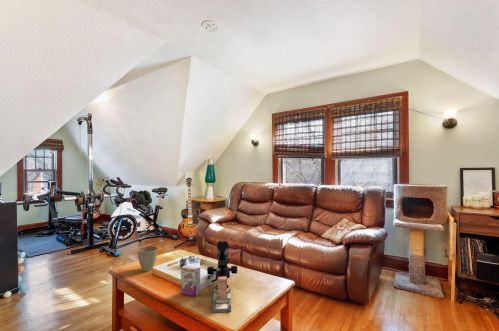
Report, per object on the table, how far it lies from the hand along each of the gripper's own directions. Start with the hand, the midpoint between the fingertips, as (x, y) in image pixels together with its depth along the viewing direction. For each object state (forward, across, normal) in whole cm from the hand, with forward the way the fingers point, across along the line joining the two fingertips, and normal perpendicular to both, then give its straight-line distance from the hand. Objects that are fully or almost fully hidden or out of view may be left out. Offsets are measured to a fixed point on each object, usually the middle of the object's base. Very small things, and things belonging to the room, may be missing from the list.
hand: (222, 284), depth 155 cm
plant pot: (-28, -58, +40) cm, 75 cm away
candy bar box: (+1, -20, +10) cm, 22 cm away
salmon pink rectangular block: (+9, 0, 0) cm, 9 cm away
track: (+10, 0, +2) cm, 10 cm away
